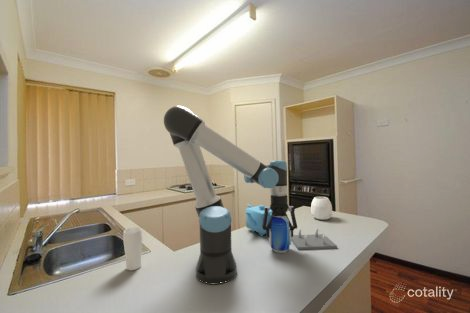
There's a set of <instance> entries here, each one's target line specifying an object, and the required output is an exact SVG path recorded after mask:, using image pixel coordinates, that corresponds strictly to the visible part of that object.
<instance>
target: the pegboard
mask: <svg viewBox="0 0 470 313" xmlns="http://www.w3.org/2000/svg"><path fill="white" fill-rule="evenodd" d="M314 232H315V233H314V234H302V228H298V234H293V237H291V243H292V245H294V247H295V248H296V249H297V250H298V251H303V250H307V251H308V250H327V249H328V250H331V249H332V250H333V249H338V245H337V244H336V243H334V241H332V240H331V239H330V238H329V237H328V236H326V234H324V233H320V234H319V228H315V230H314Z"/></svg>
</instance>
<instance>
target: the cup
mask: <svg viewBox="0 0 470 313" xmlns="http://www.w3.org/2000/svg"><path fill="white" fill-rule="evenodd" d="M310 205H311V206H310V213H311V216H312V217H313V218H314V219H316V220H320V221H321V220H323V221H325V220H326V221H327V220H329V219H330V218H332V215H333V206H332V202H331V201H330V199H329V197H326V196H315V197H313V199H312V201H311V203H310Z"/></svg>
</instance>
